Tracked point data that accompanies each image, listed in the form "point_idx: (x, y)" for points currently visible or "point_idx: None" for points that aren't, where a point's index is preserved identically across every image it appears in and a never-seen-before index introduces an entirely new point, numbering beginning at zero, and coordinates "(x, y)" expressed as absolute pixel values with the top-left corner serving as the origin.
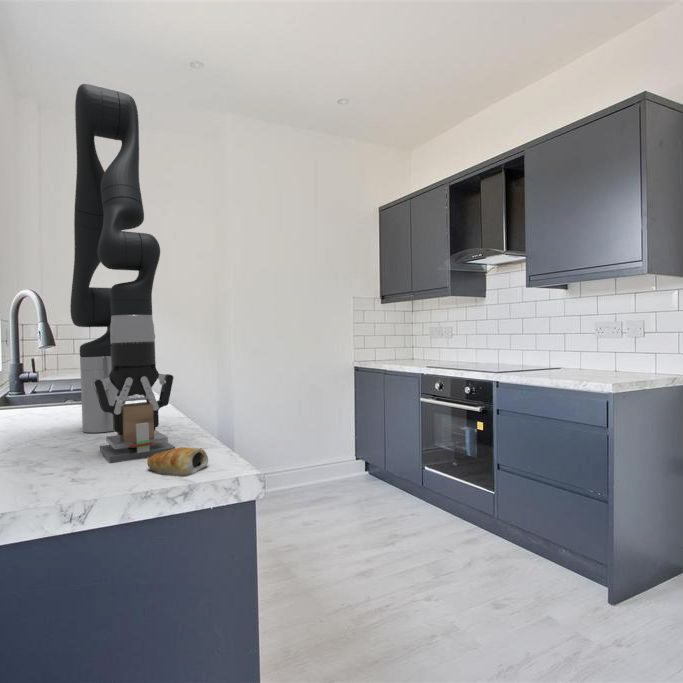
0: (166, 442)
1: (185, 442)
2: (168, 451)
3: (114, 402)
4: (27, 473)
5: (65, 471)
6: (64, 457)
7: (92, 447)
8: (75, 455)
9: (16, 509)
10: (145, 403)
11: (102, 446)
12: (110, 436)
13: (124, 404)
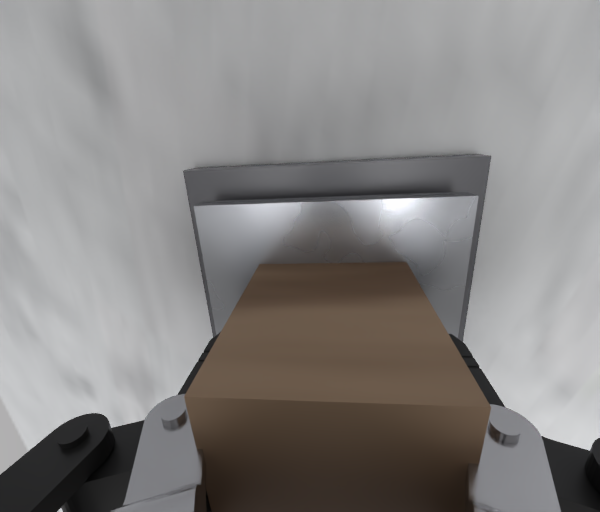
0: (463, 301)
1: (575, 234)
2: None
3: (133, 493)
4: (19, 345)
5: (118, 388)
6: (69, 189)
7: (153, 22)
8: (104, 179)
9: None
10: (433, 493)
11: (196, 189)
12: (216, 219)
13: (241, 421)
